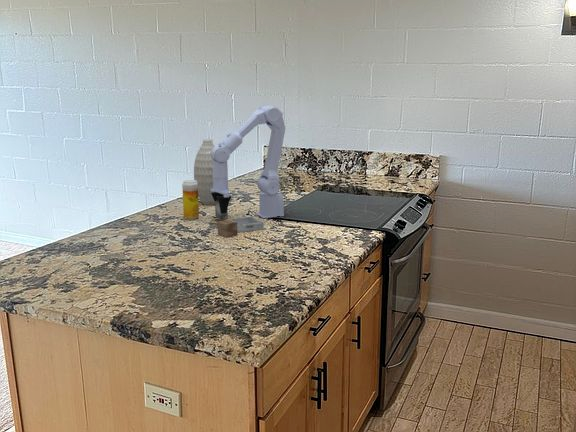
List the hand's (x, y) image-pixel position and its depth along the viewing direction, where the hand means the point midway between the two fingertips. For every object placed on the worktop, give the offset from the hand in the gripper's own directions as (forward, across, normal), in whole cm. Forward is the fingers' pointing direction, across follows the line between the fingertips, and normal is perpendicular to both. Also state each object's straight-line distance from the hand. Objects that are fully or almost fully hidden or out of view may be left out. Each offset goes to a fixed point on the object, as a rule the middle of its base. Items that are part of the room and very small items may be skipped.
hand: (221, 211), depth 227 cm
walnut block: (+4, +20, -4) cm, 21 cm away
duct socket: (+4, +13, +5) cm, 14 cm away
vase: (+4, -30, +4) cm, 30 cm away
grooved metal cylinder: (+2, 0, 0) cm, 2 cm away
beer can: (+4, -8, -10) cm, 13 cm away
